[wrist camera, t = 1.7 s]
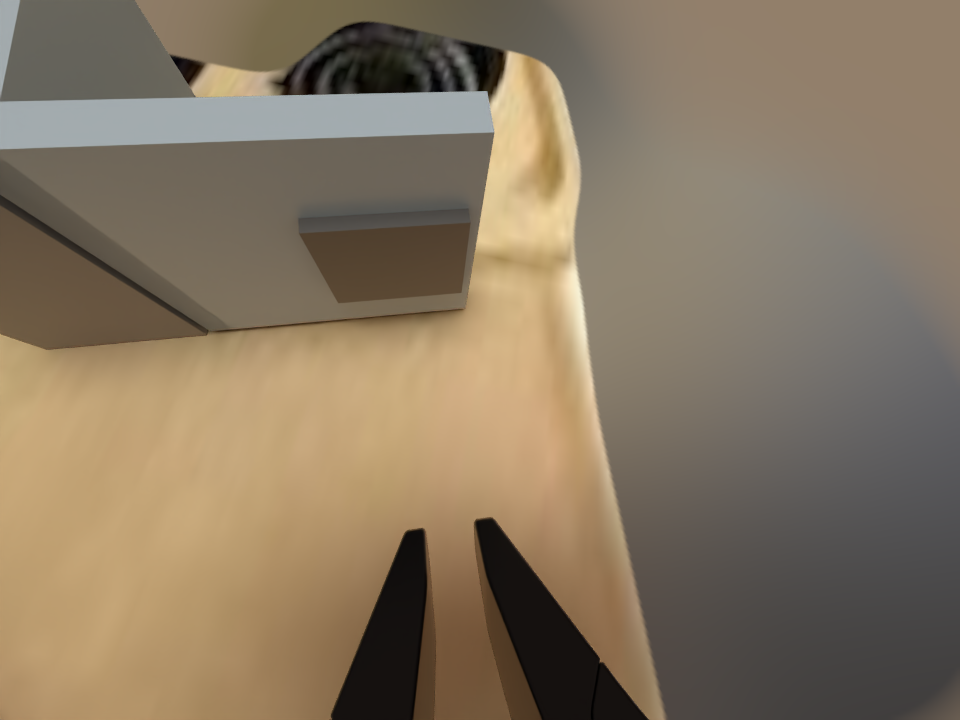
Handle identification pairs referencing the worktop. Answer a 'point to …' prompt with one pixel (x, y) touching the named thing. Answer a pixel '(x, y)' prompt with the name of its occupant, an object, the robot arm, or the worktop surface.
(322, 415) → the worktop surface
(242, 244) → the grey bookend
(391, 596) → the robot arm
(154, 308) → the camera case
